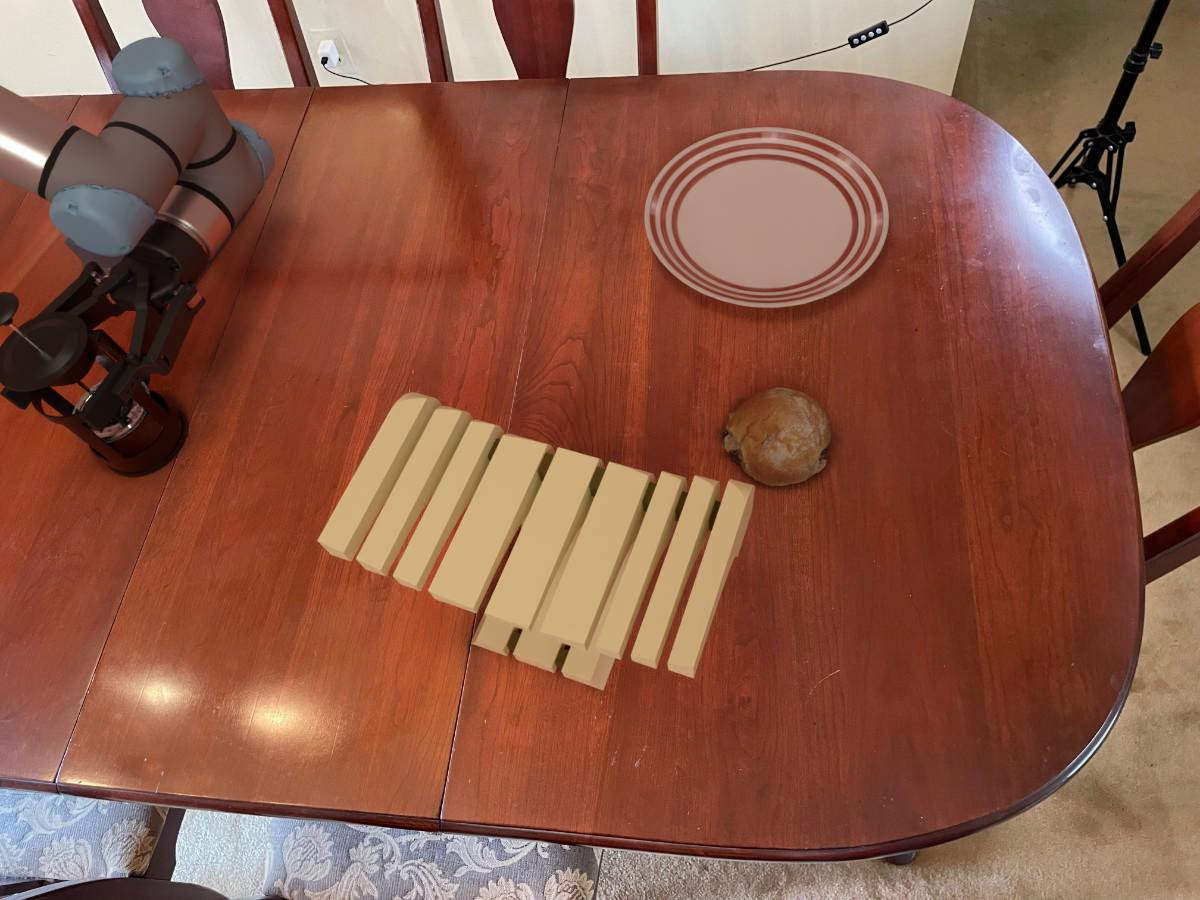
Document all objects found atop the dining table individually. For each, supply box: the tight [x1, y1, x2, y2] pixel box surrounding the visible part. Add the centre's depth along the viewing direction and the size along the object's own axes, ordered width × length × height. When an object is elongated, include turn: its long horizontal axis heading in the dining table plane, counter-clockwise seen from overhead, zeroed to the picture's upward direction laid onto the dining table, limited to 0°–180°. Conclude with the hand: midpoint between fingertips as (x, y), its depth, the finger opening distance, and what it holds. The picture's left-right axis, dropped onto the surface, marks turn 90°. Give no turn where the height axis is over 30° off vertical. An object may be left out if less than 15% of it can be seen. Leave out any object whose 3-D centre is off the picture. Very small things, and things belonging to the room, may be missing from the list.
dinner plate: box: [643, 126, 890, 309], centre depth 97 cm, size 27×27×3 cm
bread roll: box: [721, 387, 833, 487], centre depth 83 cm, size 10×10×8 cm
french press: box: [0, 291, 188, 478], centre depth 84 cm, size 12×9×23 cm
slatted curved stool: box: [316, 391, 756, 691], centre depth 72 cm, size 30×16×18 cm, turn 69°
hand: (50, 412), depth 81 cm, fingers closed on french press, 9 cm apart
